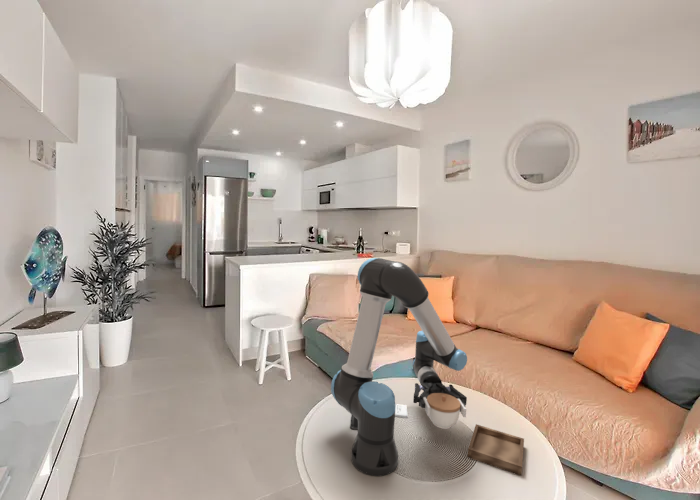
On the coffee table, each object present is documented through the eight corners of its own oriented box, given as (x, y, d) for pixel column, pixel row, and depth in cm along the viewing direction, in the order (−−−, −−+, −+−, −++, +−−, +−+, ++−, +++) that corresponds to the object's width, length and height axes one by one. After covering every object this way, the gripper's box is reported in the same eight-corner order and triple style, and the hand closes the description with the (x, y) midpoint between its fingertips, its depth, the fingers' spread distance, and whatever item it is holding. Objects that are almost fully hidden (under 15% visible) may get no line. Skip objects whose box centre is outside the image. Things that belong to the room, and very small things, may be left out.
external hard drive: (376, 405, 144) (406, 408, 142) (375, 416, 136) (407, 419, 134) (377, 401, 144) (406, 404, 142) (376, 412, 136) (407, 415, 134)
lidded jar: (420, 415, 116) (422, 388, 116) (449, 413, 118) (451, 387, 118) (433, 434, 106) (435, 405, 105) (465, 432, 108) (467, 403, 107)
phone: (350, 427, 126) (352, 405, 140) (350, 430, 126) (352, 408, 141) (371, 429, 125) (371, 406, 140) (371, 432, 125) (371, 409, 140)
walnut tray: (467, 457, 113) (468, 448, 112) (475, 431, 127) (475, 424, 126) (521, 476, 105) (522, 466, 105) (523, 446, 119) (524, 438, 119)
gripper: (459, 391, 130) (482, 425, 108) (398, 388, 130) (409, 422, 108) (460, 372, 129) (484, 402, 107) (399, 369, 129) (411, 399, 107)
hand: (447, 412), depth 108 cm, fingers closed on lidded jar, 11 cm apart
